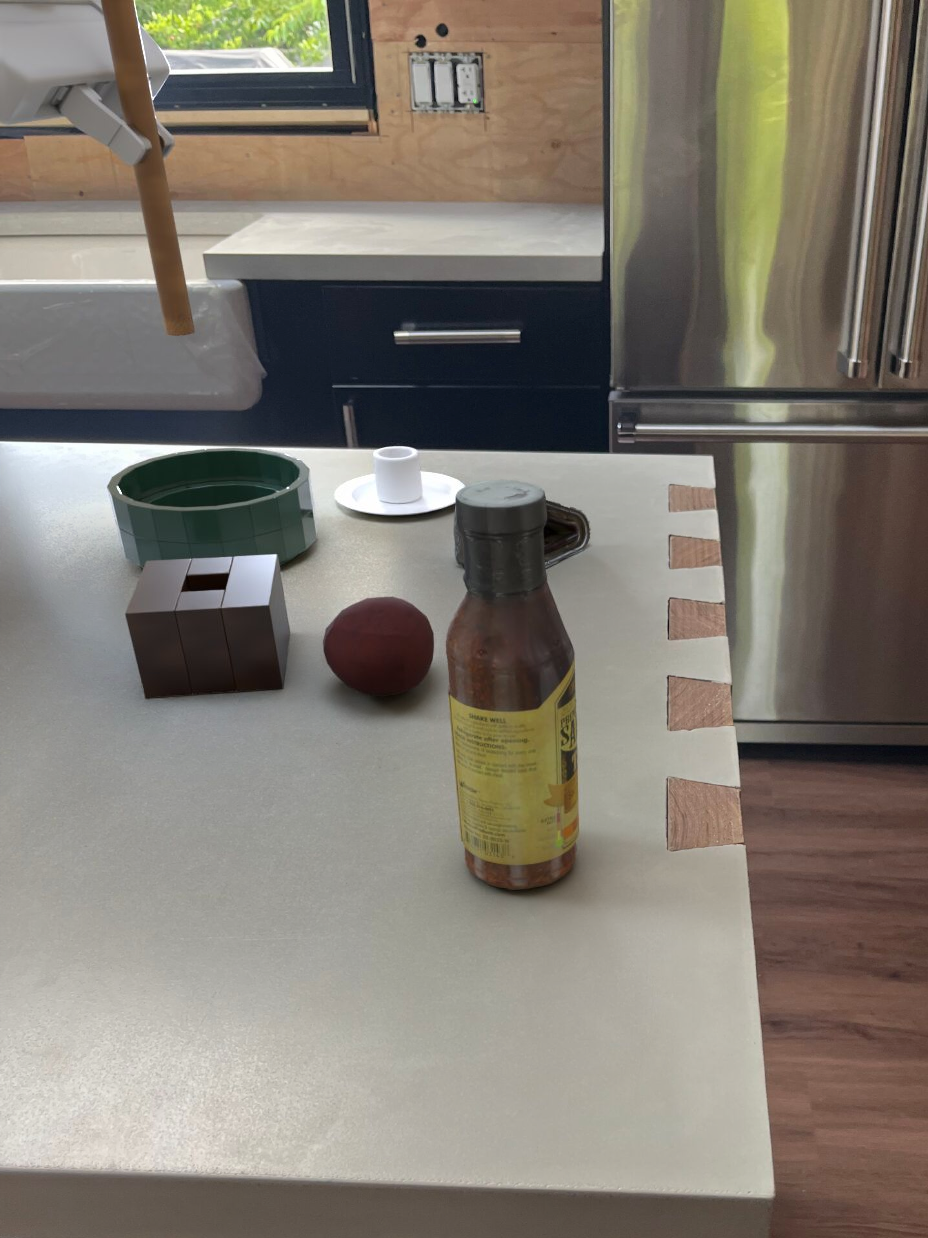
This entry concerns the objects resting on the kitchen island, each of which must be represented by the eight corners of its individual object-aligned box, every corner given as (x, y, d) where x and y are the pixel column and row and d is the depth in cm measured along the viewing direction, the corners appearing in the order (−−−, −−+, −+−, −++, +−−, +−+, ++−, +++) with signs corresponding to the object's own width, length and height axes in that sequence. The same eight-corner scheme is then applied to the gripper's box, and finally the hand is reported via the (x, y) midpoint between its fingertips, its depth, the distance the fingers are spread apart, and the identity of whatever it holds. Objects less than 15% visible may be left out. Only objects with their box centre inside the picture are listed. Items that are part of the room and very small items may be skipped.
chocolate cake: (535, 528, 105) (444, 451, 96) (596, 522, 101) (507, 441, 91) (504, 625, 103) (408, 556, 94) (566, 624, 99) (471, 551, 89)
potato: (301, 703, 77) (288, 618, 74) (368, 651, 83) (359, 571, 80) (400, 725, 75) (391, 638, 71) (461, 670, 81) (455, 588, 78)
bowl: (109, 590, 92) (90, 514, 88) (140, 519, 104) (125, 451, 101) (315, 579, 94) (304, 505, 91) (321, 511, 107) (312, 444, 103)
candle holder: (493, 498, 110) (491, 451, 108) (394, 532, 102) (389, 483, 100) (408, 470, 116) (404, 425, 114) (308, 500, 109) (302, 453, 106)
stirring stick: (163, 336, 84) (96, -7, 73) (168, 330, 86) (102, -6, 75) (192, 335, 85) (130, -6, 73) (196, 329, 86) (135, -6, 75)
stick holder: (145, 698, 77) (124, 613, 74) (164, 640, 84) (146, 560, 81) (283, 689, 79) (269, 605, 75) (290, 632, 86) (277, 553, 82)
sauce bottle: (592, 885, 61) (592, 512, 50) (474, 905, 60) (446, 526, 49) (562, 817, 66) (555, 465, 55) (451, 834, 65) (421, 476, 54)
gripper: (-110, -84, 64) (101, 129, 69) (80, -64, 81) (240, 106, 86) (-157, 14, 67) (49, 212, 72) (36, 14, 84) (193, 174, 89)
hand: (154, 154), depth 79 cm, fingers closed on stirring stick, 2 cm apart
